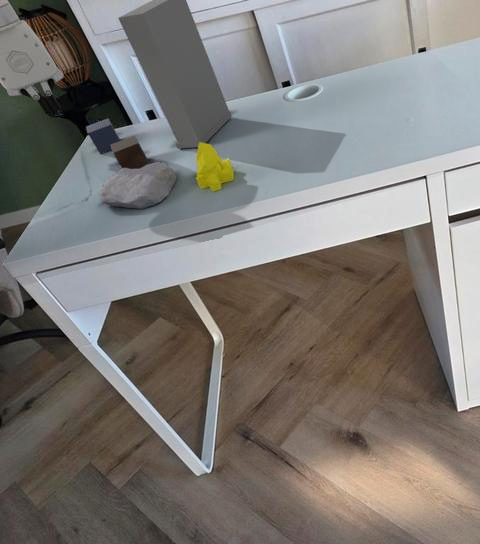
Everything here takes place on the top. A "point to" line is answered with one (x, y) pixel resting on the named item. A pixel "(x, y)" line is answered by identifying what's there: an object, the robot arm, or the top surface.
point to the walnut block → (129, 153)
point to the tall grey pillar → (177, 69)
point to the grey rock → (138, 186)
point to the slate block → (103, 135)
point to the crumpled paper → (212, 168)
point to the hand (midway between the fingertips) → (56, 114)
